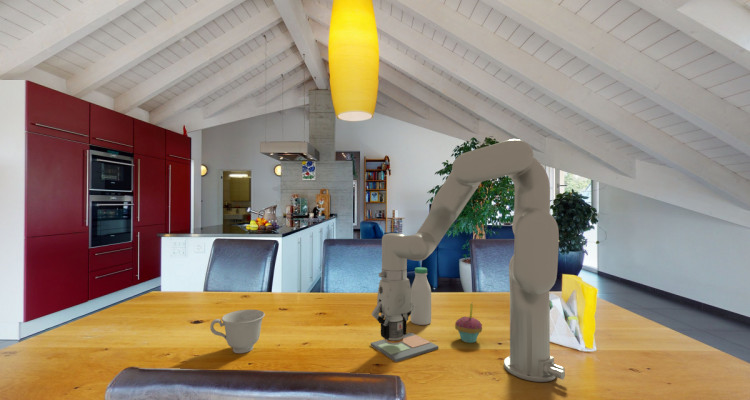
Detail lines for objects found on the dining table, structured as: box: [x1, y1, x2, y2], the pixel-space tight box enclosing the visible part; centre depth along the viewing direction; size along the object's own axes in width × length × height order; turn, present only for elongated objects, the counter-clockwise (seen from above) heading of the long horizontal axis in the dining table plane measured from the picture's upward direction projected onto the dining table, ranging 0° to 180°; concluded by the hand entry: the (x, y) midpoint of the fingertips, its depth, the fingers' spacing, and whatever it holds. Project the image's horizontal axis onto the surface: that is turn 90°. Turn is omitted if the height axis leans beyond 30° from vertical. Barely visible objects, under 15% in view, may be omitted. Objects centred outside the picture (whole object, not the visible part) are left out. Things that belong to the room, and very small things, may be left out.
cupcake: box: [454, 303, 483, 344], centre depth 106 cm, size 9×8×12 cm
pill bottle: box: [383, 314, 403, 345], centre depth 98 cm, size 6×6×10 cm
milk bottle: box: [409, 266, 432, 326], centre depth 123 cm, size 8×8×20 cm
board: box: [370, 332, 439, 363], centre depth 100 cm, size 13×16×1 cm
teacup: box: [210, 309, 265, 354], centre depth 98 cm, size 12×15×10 cm
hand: (393, 334), depth 98 cm, fingers closed on pill bottle, 5 cm apart
